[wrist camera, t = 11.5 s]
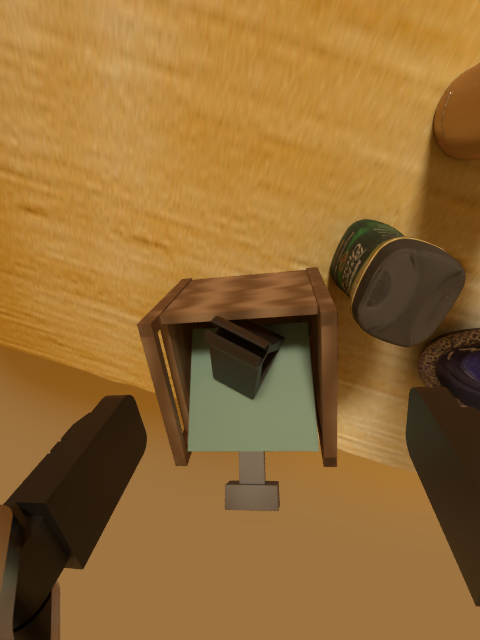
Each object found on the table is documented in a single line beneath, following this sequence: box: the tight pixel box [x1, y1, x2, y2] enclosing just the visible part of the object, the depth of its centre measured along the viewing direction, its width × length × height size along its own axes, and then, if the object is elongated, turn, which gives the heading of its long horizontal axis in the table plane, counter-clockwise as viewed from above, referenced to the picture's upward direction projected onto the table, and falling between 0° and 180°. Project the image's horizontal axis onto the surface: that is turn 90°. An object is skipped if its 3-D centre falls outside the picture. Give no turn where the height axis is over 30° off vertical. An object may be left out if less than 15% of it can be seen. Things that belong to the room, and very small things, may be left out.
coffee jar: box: [330, 219, 465, 347], centre depth 34 cm, size 10×8×19 cm
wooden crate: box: [137, 267, 337, 467], centre depth 42 cm, size 20×20×16 cm
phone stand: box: [204, 316, 285, 400], centre depth 35 cm, size 9×6×12 cm
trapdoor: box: [188, 322, 319, 511], centre depth 39 cm, size 16×22×3 cm
